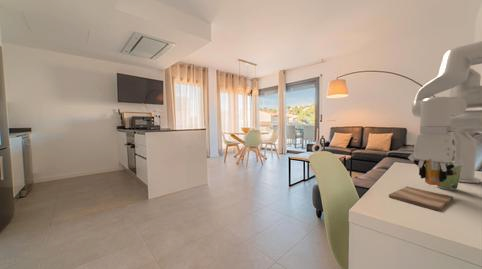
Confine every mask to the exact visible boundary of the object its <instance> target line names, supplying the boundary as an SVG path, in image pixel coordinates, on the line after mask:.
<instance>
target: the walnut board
mask: <svg viewBox="0 0 482 269" xmlns="http://www.w3.org/2000/svg"><path fill="white" fill-rule="evenodd" d="M388 198H392V199H394V200H397V201H398V200H399V201H401V202H405V203H407V204H408V203H409V204H412V205H416V206H419V207H422V208H427V209H430V210H433V211H437V212H439V211H441V210H442V209H443V208H445V207H446V206H447V205H448V204H449V203H451V202H452V201H453V200H454V196H452V195H447V194H443V193H438V192H434V191H429V190H426V189H425V190H424V189H421V188H416V187H412V186H405V187H403V188H402V187H401V188H400V189H398V190H395V191H393V192H390V193H389V194H388Z"/></svg>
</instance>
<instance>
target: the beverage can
mask: <svg viewBox="0 0 482 269" xmlns="http://www.w3.org/2000/svg"><path fill="white" fill-rule="evenodd" d="M453 163H455V162H454V161H452V162H451V163H447V164H448V165H450V164H453ZM461 168H462V165H460V166H457V167H454V168H452V169H450V170H448V171H447V179H446V180H444V181H443V182H440V185H436V187H438V188H440V189H443V190H446V191H448V190H449V191H453V190H456V189H458V187H459V183H460V182H459V178H460V173H461ZM440 171H441V165H440Z"/></svg>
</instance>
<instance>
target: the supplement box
mask: <svg viewBox="0 0 482 269" xmlns="http://www.w3.org/2000/svg"><path fill="white" fill-rule="evenodd" d="M439 173H440V162H433V161H431V159H429V161H425V178H424V183H425V184H428V185H430V186H437V185H440V181H439Z"/></svg>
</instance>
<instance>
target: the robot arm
mask: <svg viewBox="0 0 482 269" xmlns="http://www.w3.org/2000/svg"><path fill="white" fill-rule="evenodd" d="M481 64H482V40H481V41H477V42H473V43H469V44H465V45H462V46H457V47H454V48H452V49H450V50H448V51H446V52H445V53H444V54H443V56H442V58H441V61H440V64H439V68H438V70H437V73H436V76H435V77H434V78H433V79H431V80H430V81H428V82H427V83H426V84H424V85H423V86H422V87H420V89H419V90H418V91H417V92H416V94H415V96H414V100H413V103H412V107H411V113H412V114H413V116H414V117H416V118H420V120H419V134H417V135H416V139H415V143H414V149H413V152H412V153H411V154H410V155H408V156H407V159H409V161H411V162H412V163H414V164H415V165H416V166H417V167H418V170H419V171H418V175H419V176H420V179H425V161H429V159H431V161H433V162H440V165H441V171H440V173H439V181H440V182H443V181H444V180H446V179H447V171H448V170H450V169H452V168H454V167H457V166H460V165H462V168H461V173H460V178H459V182H458V183H466V184H467V183H469V184H470V183H471V184H479V183H480V182H481V179H479V178H477V177H475V175H476V174H475V173H476V171H475V170H476V158H477V141H476V139H475V138H474V137H473V136H471V135H470V133H482V109H477V108H482V85H481V79H482V76H481V74H480V73H479V72H477V71H476V70H475V69H473V68H471V66H475V65H481ZM448 90H450V91H449V96H435V95H437V94H440V93H442V92H444V91H448ZM475 108H476V109H477V110H476V109H475ZM467 109H471V110H467ZM472 109H473V110H472ZM474 109H475V110H474ZM452 161H454V162H455V163H453V164H450V165H448V164H447V163H451V162H452Z"/></svg>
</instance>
